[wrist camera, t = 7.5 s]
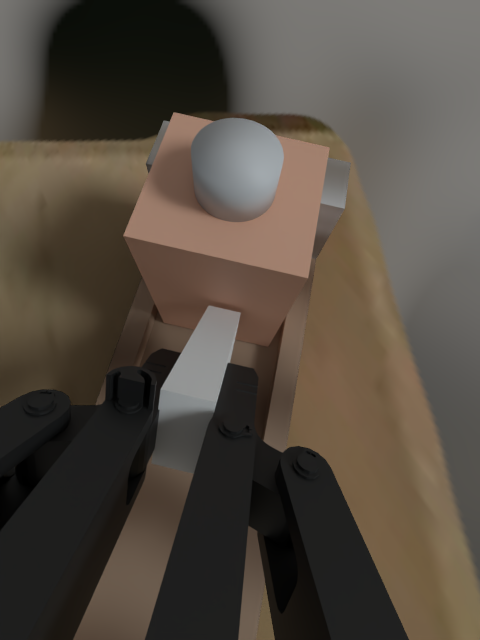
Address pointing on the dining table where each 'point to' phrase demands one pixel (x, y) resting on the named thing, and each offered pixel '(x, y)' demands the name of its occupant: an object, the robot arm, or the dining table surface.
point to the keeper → (228, 223)
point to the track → (173, 485)
